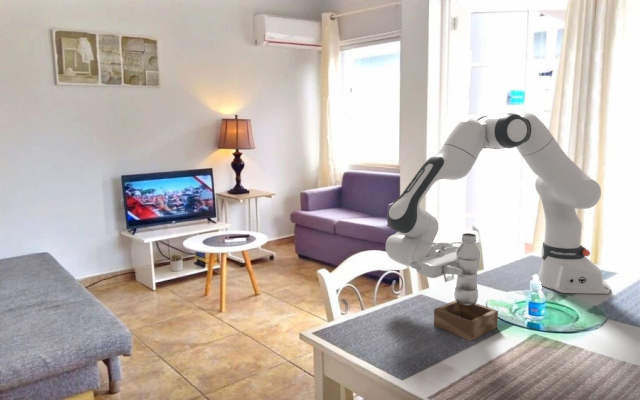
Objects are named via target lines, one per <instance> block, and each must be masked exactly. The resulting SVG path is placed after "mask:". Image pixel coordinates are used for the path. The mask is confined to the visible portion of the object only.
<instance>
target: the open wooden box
mask: <svg viewBox="0 0 640 400" xmlns="http://www.w3.org/2000/svg"><path fill="white" fill-rule="evenodd" d="M498 315H499V311H498V310H497V309H495V308H490V307H488V306H485V305H482V304H479V303H477V302H476V303H475V304H474V305H461V304H459V303H457V301H456V300H455V299H454V300H453V301H450V302H448V303H445V304H443V305H440V306H437V307H436V308H435V307H434V310H433V326H435V327H437V328H439V329H442V330H443V331H446V332H449V333H451V334H453V335H456V336H458V337H460V338H464V339H466V340H469V341H470V342H471V341H473V340H476V339H477V338H479V337H481V336H484V335H485V334H487V333H490V332H491V331H493V330H495V329H498V321H499V320H498V318H499V317H498Z"/></svg>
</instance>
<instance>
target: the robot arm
mask: <svg viewBox="0 0 640 400" xmlns="http://www.w3.org/2000/svg"><path fill="white" fill-rule="evenodd" d="M513 148H516V149H517V150H518V151H519V153H520V156H522V158H523V159H524V161H525V163H526V164H527V165H528V167H529V168H530V169H531V170H532V172H533V173H534V174H535V175H537V178H536V180H535V190H536V193H537V194H538V196H539V198H540V200H541V203H542V208H543V213H544V220H545V223H544V224H545V225H544V226H545V227H544V241H543V242H542V247H541V260H542V261H541V265H540V269H539V271H538V272H539V273H538V275H537V277H538V276H539V279H540V281H541V283H542V285H541V286H543V287H544V288H548V289H550V290H554V291H557V292H559V293H562V294H588V295H589V294H593V295H594V294H596V295H597V294H599V295H600V294H601V295H608V294H609V293H610V292H611V287H610V285H609V284H608V282H606V281H605V280H604V277H603V274H602V271H601V269H600V268H599V266H597V265H596V264H595V263H594V262H592V260H590V259H589V258H588V257H589V256H590V255H591V252H590V251H589V249H587V248H586V247H584V246H583V245H581V239H582V227H583V226H582V221H581V220H580V218H579V217H578V215H577V212H576V210H577V209H578V210H579V209H581V210H582V209H583V210H584V209H591V208H592V207H594V206H596V205H597V204H598V202H599V201H600V199H601V196H602V189H601V185H600V184H599V182H597V181H596V180H594V179H593V178H591V177H590V176H589V175H587V173H585V172H584V171H583V170H582V168H580V167H579V166H578V165H577V164H576V163H575V162H574V161H573V160H572V159H571V158H570V157H569V156H568V155H567V154H566V153H565V151H564V150H563V149H562V146H560V144H559V143H558V142H557V140H556V138H555V137H554V136H553V134H552V133H551V131H550V130H549V129H548V127H547V126H546V125H545V124H544V123H543V122H542V120H541V119H539V118H538V117H537V116H536V115H535V114H533V113H529V112H528V113H522V114H517V113H513V112H510V113H508V112H507V113H494V114H490V115H484V116H480V117H479V118H477V119H468V118H467V119H466V118H465V119H463V120H461V121H460V122H458V124H457V125H456V126H455V127H454V129H453V130H452V131H451V133H450V134H449V136H448V137H447V138H446V140H445V141H444V143H443V146H442V147H441V149H440V150H439V151H438V153H436V155H433V156H431V157H430V158H428V159H427V160H426V161H425V162H424V163H423V165H422V166H421V167H420V168H419V169H418V171H417V172H416V174H415V175H414V176H413V177H412V179H411V181H410V182H409V183H408V185H407V186H406V187H405V188H404V190H403V192H402V193H401V194H400V196H399V197H397V199H395V200H394V201H393V203H391V204H390V206H389V208H388V210H387V214H386V219H387V223H388V226H389V228H390V229H392V230H394V231H395V233H394V234H391V235H390V236H388V238H387V239H386V242H385V253H386V254H387V256H388V257H389V258H390V260H392V261H394V262H396V263H398V264H401V265H404V266H406V267H411V268H412V269H415V271H416V272H417V273H418V274H420V275H422V276H425V277H427V278H431V279H436V278H439V277H441V276H442V277H443V276H445V275H457V276H458V275H463V274H464V269H463V268H461V267H458V265H457V254H456V253H457V250H458V248H459V247H460V246H456V245H453V244H452V243H451V242H439V243H437V242H434V240H435V238H436V237H437V233H438V231H439V223H438V220H437V218H436V217H435V216H433V215H432V214H431V213H429V212H428V211H427V210H424V209H423V208H422V207H420V205H421V202H422V200H423V199H424V198H425V196H426V195H427V194H428V192H429V191H430V190H431V188H432V186H433V185H434V184H435V183H436V182H437V181H439V180H451V181H453V180H454V181H455V180H460V179H462V178H464V177H466V176H467V175H468V174H469V173H470V172H471V170H472V168H473V167H474V165H475V163H476V161H477V159H478V157H479V155H480V153H481V152H482V151H483V149H489V150H490V149H491V150H492V149H493V150H500V149H513ZM479 269H480V264H478V270H479Z"/></svg>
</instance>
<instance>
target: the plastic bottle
mask: <svg viewBox="0 0 640 400" xmlns="http://www.w3.org/2000/svg"><path fill="white" fill-rule="evenodd" d="M461 242H462V243H461V244H460V245H459V246H458V247H459V248H458V250H457V253H456V254H457V265H458V267H461V268H463V269H464V274H463V275H457V277H456V284H455V289H454V294H453V295H454V301H455V300H456V301H457V303H459V304H461V305H474V304H475V303H477V302H478V299H479V291H478V270H479V269H478V264H479V263H480V259H481V252H480V249H479V248H478V245H476V243H477V235H476V234H474V233H463V234H462V237H461ZM479 265H480V264H479Z"/></svg>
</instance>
